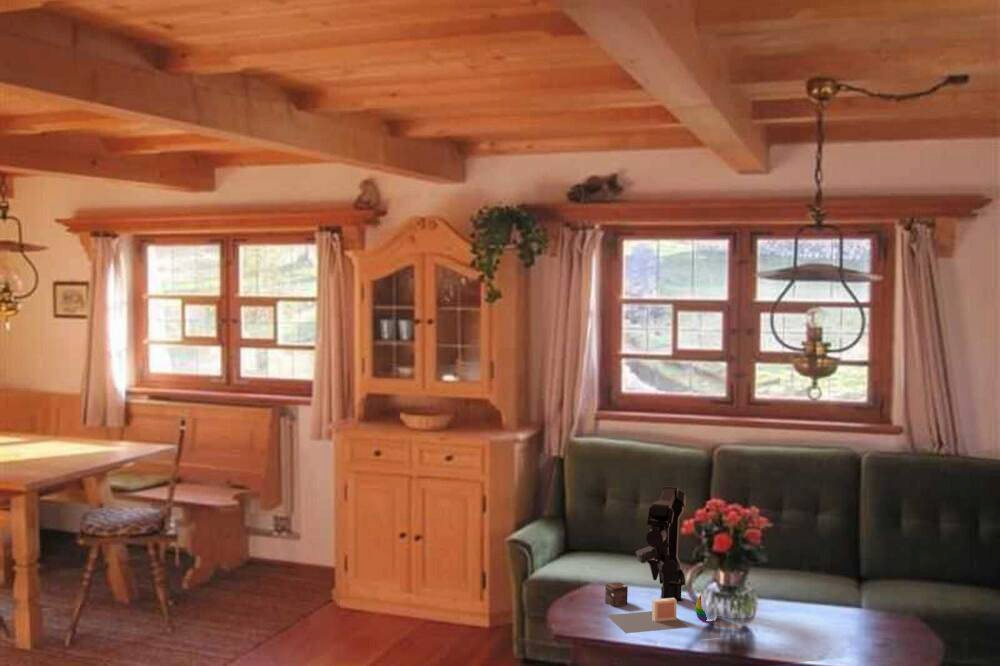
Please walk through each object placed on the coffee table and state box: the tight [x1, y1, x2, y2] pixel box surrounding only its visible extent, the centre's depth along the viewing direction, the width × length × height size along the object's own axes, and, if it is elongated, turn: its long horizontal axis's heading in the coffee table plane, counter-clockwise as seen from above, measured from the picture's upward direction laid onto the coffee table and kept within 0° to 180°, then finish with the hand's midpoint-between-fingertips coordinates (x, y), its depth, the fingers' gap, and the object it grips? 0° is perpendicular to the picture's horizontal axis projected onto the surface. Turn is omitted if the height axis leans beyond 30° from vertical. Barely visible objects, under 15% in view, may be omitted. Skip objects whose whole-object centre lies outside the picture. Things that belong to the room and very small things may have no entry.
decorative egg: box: [695, 594, 707, 622], centre depth 337 cm, size 8×8×10 cm
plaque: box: [651, 598, 678, 622], centre depth 336 cm, size 8×3×7 cm, turn 104°
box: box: [604, 581, 629, 608], centre depth 353 cm, size 6×6×7 cm
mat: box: [606, 610, 689, 634], centre depth 335 cm, size 23×18×1 cm
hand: (659, 584), depth 337 cm, fingers open, 9 cm apart
